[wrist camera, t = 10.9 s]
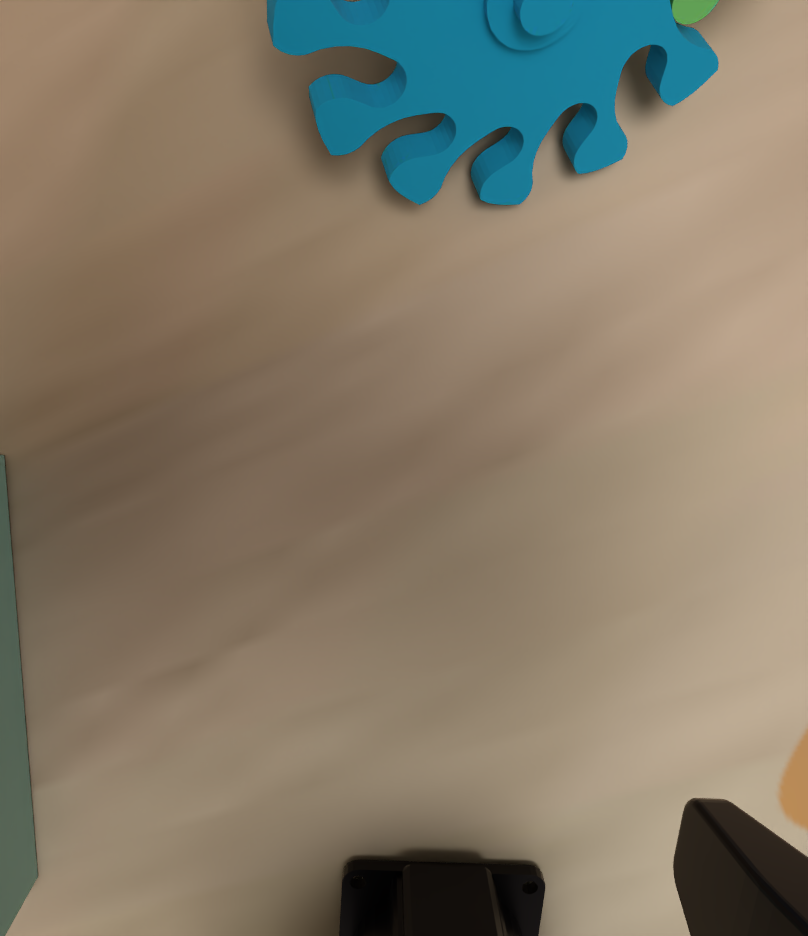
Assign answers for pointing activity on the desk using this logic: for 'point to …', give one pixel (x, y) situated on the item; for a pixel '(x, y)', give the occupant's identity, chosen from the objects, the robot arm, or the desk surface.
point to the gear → (491, 78)
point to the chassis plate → (12, 744)
